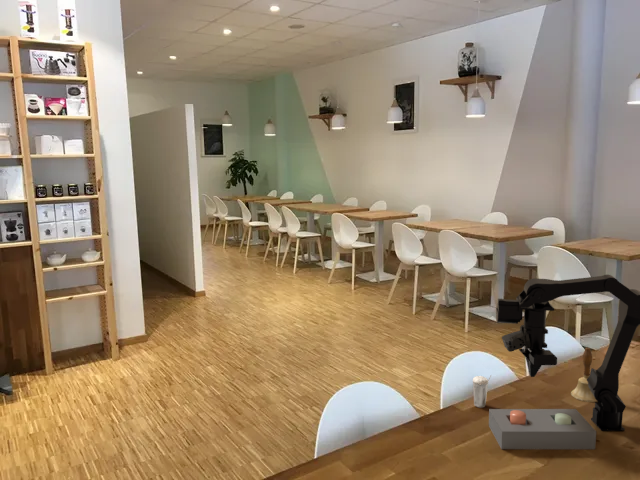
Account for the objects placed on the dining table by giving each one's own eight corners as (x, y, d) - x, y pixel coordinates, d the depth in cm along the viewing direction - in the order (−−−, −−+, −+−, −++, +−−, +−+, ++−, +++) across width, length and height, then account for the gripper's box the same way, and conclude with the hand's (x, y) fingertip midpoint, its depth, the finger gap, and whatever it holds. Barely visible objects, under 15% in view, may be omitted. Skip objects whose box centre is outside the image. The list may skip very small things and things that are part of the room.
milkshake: (491, 409, 158) (492, 378, 157) (472, 408, 159) (473, 377, 158) (489, 402, 163) (490, 372, 161) (471, 401, 164) (472, 371, 162)
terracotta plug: (522, 427, 145) (523, 410, 144) (527, 434, 141) (528, 417, 140) (507, 427, 145) (508, 410, 144) (512, 434, 141) (512, 417, 140)
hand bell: (592, 405, 160) (596, 355, 157) (565, 395, 166) (568, 347, 164) (605, 396, 165) (608, 348, 162) (578, 387, 171) (581, 341, 169)
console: (574, 425, 148) (575, 408, 147) (595, 449, 136) (596, 431, 136) (488, 425, 149) (489, 409, 149) (501, 449, 138) (502, 431, 137)
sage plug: (566, 430, 144) (567, 413, 144) (572, 437, 140) (574, 420, 140) (551, 430, 145) (552, 413, 144) (557, 437, 141) (558, 420, 140)
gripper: (495, 314, 157) (494, 363, 160) (516, 336, 139) (514, 391, 142) (533, 313, 157) (531, 363, 160) (559, 335, 139) (556, 391, 141)
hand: (532, 376), depth 150 cm, fingers closed
